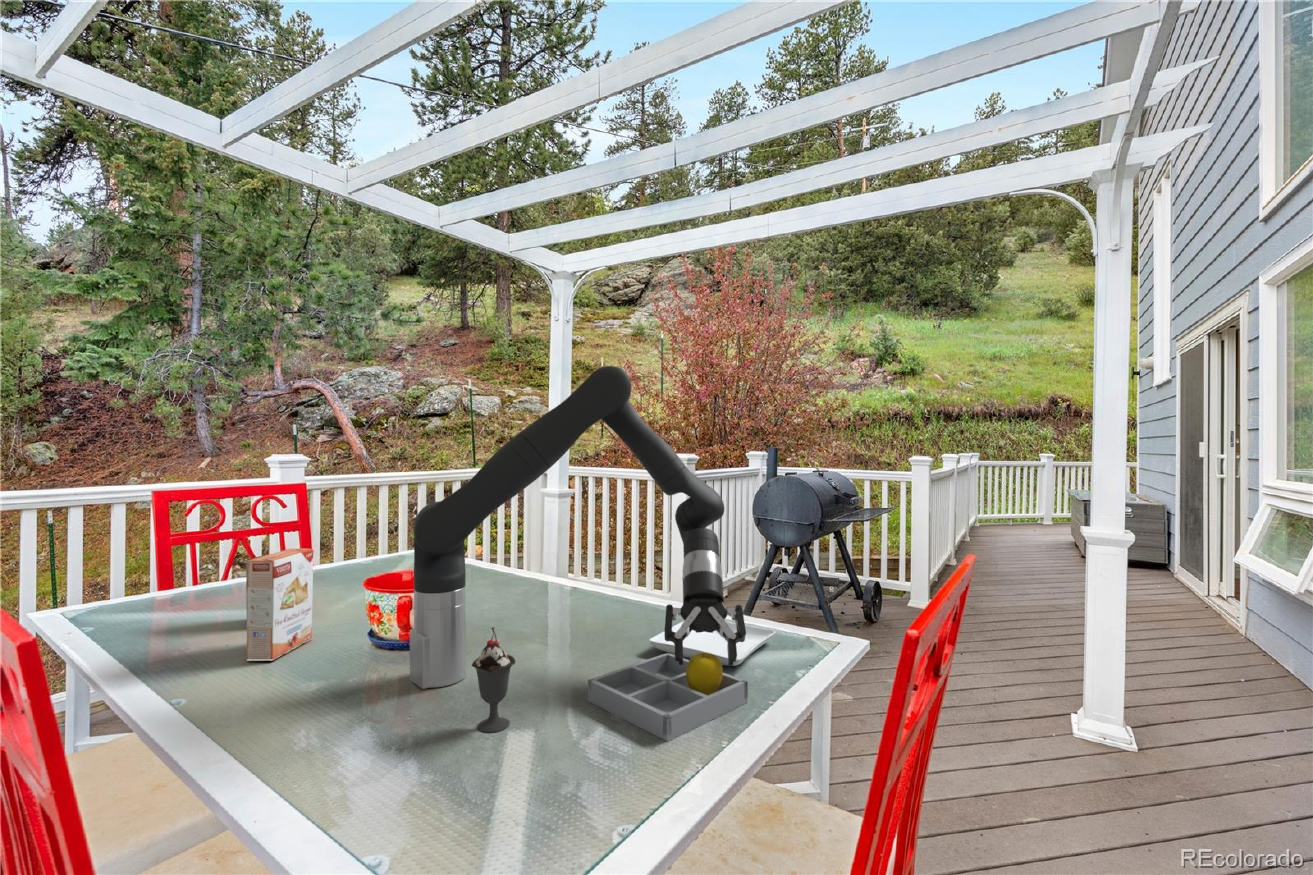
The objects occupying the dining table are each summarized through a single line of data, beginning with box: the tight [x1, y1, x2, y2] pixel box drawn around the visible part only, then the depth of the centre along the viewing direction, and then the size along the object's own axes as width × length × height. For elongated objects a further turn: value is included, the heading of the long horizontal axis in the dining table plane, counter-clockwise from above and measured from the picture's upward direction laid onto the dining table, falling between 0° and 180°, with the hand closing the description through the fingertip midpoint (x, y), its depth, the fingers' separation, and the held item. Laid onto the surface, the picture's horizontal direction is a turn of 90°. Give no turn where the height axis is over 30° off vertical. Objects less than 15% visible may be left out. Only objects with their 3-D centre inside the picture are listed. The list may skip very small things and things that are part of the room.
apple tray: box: [587, 652, 749, 742], centre depth 105 cm, size 20×20×4 cm
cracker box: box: [246, 548, 314, 660], centre depth 130 cm, size 14×6×21 cm, turn 179°
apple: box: [686, 653, 724, 696], centre depth 105 cm, size 6×6×8 cm
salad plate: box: [648, 620, 776, 667], centre depth 132 cm, size 21×21×3 cm
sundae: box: [471, 626, 516, 734], centre depth 97 cm, size 7×7×15 cm
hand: (706, 663), depth 104 cm, fingers open, 8 cm apart
